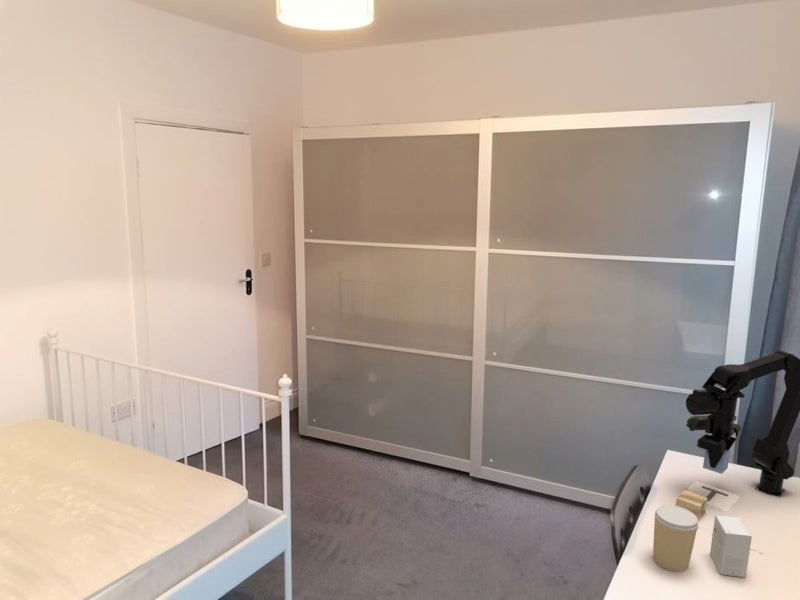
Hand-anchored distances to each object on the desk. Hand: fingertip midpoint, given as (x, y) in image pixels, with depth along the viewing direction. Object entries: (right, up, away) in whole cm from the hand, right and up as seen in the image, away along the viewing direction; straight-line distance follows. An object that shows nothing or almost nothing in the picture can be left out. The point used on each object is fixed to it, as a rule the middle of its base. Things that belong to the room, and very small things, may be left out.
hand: (715, 464), depth 171 cm
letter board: (0, -10, +2) cm, 10 cm away
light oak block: (-11, -12, -7) cm, 17 cm away
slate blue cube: (0, -1, 0) cm, 1 cm away
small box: (-12, -16, -29) cm, 35 cm away
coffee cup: (-25, -15, -28) cm, 41 cm away
